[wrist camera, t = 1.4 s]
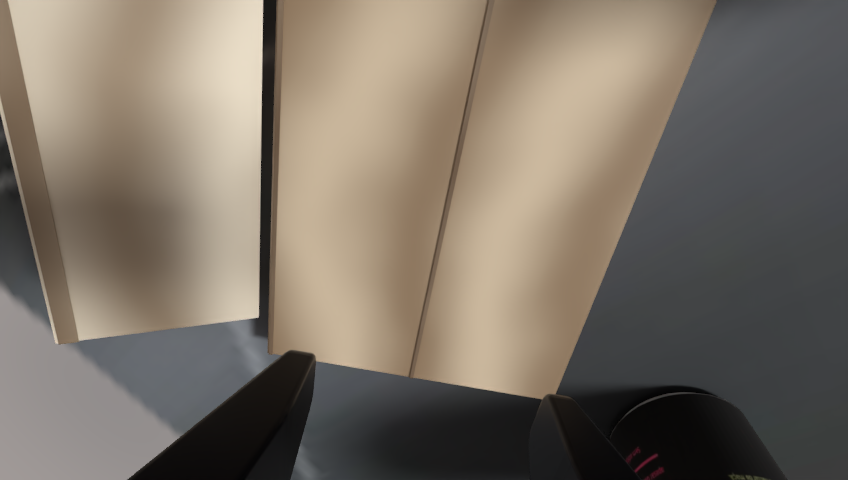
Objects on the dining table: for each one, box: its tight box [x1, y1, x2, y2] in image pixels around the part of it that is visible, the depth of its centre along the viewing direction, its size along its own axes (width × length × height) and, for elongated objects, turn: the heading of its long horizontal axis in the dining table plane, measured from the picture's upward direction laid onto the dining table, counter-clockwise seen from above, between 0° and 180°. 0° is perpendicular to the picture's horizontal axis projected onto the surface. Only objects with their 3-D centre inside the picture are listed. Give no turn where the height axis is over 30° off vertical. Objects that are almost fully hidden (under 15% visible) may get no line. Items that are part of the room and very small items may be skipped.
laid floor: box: [268, 0, 717, 399], centre depth 18 cm, size 13×20×1 cm, turn 170°
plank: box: [0, 0, 263, 344], centre depth 16 cm, size 7×16×1 cm, turn 170°
